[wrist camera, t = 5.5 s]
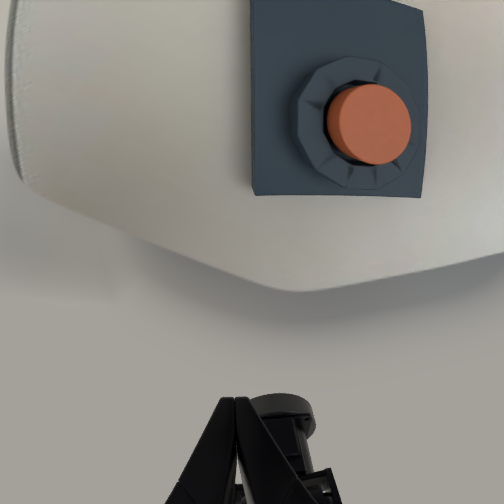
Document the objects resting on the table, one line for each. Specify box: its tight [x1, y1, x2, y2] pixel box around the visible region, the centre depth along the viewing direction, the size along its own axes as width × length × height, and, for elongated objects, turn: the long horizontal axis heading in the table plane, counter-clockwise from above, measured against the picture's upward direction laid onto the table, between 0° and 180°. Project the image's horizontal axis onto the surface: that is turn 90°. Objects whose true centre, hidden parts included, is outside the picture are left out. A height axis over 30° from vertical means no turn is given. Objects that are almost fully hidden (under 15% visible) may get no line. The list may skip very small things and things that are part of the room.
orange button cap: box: [327, 84, 411, 165], centre depth 12 cm, size 4×4×2 cm
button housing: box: [250, 0, 428, 198], centre depth 14 cm, size 12×10×4 cm
